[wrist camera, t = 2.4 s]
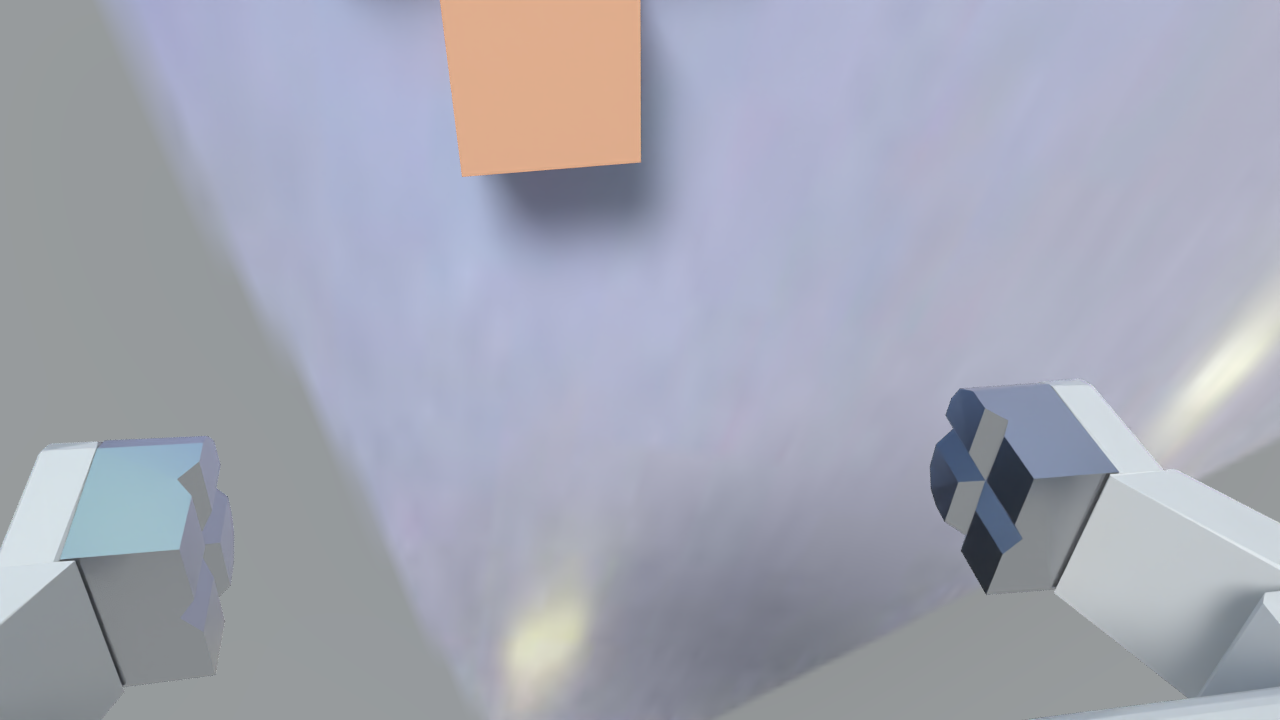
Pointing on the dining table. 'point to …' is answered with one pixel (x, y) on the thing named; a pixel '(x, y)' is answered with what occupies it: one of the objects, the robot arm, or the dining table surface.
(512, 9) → the cube
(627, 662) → the dining table surface
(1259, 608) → the robot arm
